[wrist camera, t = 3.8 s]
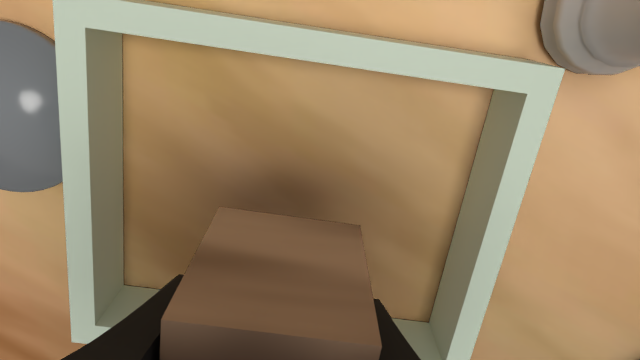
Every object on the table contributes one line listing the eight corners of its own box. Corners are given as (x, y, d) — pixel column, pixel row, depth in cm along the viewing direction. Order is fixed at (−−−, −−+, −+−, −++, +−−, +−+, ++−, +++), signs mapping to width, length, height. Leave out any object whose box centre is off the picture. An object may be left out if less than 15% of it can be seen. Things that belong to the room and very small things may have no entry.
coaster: (100, 196, 20) (93, 202, 20) (-62, 175, 20) (-73, 180, 20) (96, 33, 18) (89, 34, 17) (-89, 6, 18) (-102, 6, 17)
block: (337, 339, 14) (345, 497, 10) (210, 323, 14) (155, 478, 10) (360, 225, 13) (382, 346, 8) (219, 206, 13) (160, 319, 8)
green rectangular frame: (443, 341, 23) (460, 387, 20) (102, 299, 22) (71, 342, 20) (527, 59, 18) (565, 68, 15) (95, -8, 17) (52, -10, 15)
